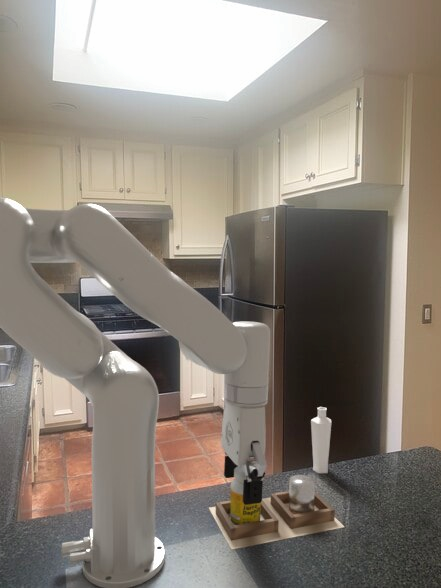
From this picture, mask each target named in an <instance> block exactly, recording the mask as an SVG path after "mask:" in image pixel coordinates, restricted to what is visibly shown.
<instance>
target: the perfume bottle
mask: <svg viewBox="0 0 441 588" xmlns="http://www.w3.org/2000/svg"><path fill="white" fill-rule="evenodd" d="M316 408H317V416H316V417H313V418H312V419H311V420H310V426H311V427H310V429H311V445H312V461H313V462H312V463H313V464H312V465H313V467H312V470H313V471H314V472H316V473H317V474H328V472H329V469H328V466H329V465H328V464H329V454H330V441H331V433H332V432H331V431H332V429H331V428H332V419H331V418H329V417H327V407H323V406H319V407H316Z"/></svg>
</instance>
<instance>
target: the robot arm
mask: <svg viewBox="0 0 441 588" xmlns="http://www.w3.org/2000/svg"><path fill="white" fill-rule="evenodd" d="M32 263H35V264H40V263H41V264H44V263H46V264H62V263H64V264H65V263H67V264H69V263H76V264H78V265H79V266H80V267H81V268H82V269H84V270H85V271H86V272H87V273H88V274H89V275H91V276H92V277H93V278H94V279H96V281H97V282H99V283H100V284H101V285H102V286H103V287H104V288H106V289H107V290H108V291H109V292H110V293H111V294H112V295H113V296H114V297H115V298H117V299H118V300H119V301H120V302H121V303H123V305H125V306H126V307H127V308H128V309H130V311H132V312H134V313H135V314H136V315H138V316H140V318H143V319H144V320H147V321H149V322H151V323H152V324H154V325H155V326H157V327H159V328H160V329H162V330H163V331H165V332H166V333H168V334H169V335H170V336H172V337H173V338H174V339H176V340H177V341H178V346H179V350H180V351H181V353H182V355H183V356H184V357H185V358H186V359H187V360H189V361H190V362H192V363H194V364H196V365H198V366H199V367H202V368H204V369H207V370H208V371H210V372H212V373H214V374H217V375H225V376H224V377H225V378H224V395H223V396H224V399H223V401H224V405H223V406H224V407H223V415H222V424H221V434H220V435H221V437H220V439H221V440H220V444H221V448H222V449H223V451H224V454H225V456H224V463H223V464H224V467H223V476H224V478H225V479H232V478H234V469H235V468H236V467H238V466H242V465H243V466H244V471H245V476H246V480H244V483H243V503H244V504H245V505H248V504H256V503H261V501H262V499H263V485H264V483H263V481H264V480H265V476H266V470H267V466H268V462H267V460H266V457H265V456H266V436H267V435H266V433H267V432H266V409H265V408H266V407H265V406H266V405H267V404H268V395H269V394H268V393H269V378H270V377H269V375H270V374H269V373H270V354H271V352H270V351H271V328H270V326H268V325H267V324H266V323H263V322H257V321H249V320H248V321H246V320H245V321H234V322H232V321H231V320H230V319H229V318H228V317H227V316H226V315H225V314H224V313H223V312H222V311H221V310H220V309H219V308H218V307H216V306H215V305H214V304H213V303H212V302H211V301H209V300H208V299H207V298H206V297H205V296H204V295H202V294H201V293H200V292H199V291H197V290H196V289H195V288H194V287H192V286H190V285H189V284H188V283H186V282H185V280H183V279H182V278H181V277H180V276H179V275H177V274H175V273H174V272H173V271H171V270H170V269H169V268H168V267H167V266H165V265H164V264H163V263H162V262H161V261H160V260H159V259H158V258H157V257H156V256H155V255H154V254H153V253H152V252H150V250H148V249H147V248H146V247H145V246H144V245H143V243H141V242H140V240H138V239H137V238H136V236H135V235H133V234H132V233H131V232H130V231H129V230H128V229H127V228H126V227H125V226H124V225H123V224H122V223H121V222H120V221H119V220H117V219H116V218H115V216H114V215H112V214H111V213H110V212H109V211H108V210H106V208H104V207H102V206H100V205H97V204H95V203H94V204H93V203H82V204H79V205H75V206H73V207H71V208H70V209H40V208H27V207H23V206H22V205H21V204H20V203H19V202H16V201H15V200H13V199H10V198H7V197H4V196H3V197H1V196H0V329H1V330H2V331H3V332H5V334H6V335H7V336H9V338H10V339H12V340H13V341H15V343H17V344H18V345H19V346H20V347H21V348H22V349H24V351H26V352H27V353H28V354H29V355H30V356H32V358H34V359H35V360H36V361H37V362H38V363H39V364H40V365H41V366H42V368H44V369H45V370H46V371H47V372H49V373H50V374H52V375H54V376H56V377H59V378H62V379H64V380H66V381H67V382H68V383H69V384H70V385H72V386H73V387H74V388H75V389H77V390H78V391H79V392H80V393H82V395H84V396H85V397H86V398H87V399H88V401H89V403H90V405H91V407H92V414H93V416H92V417H93V418H92V420H93V421H92V422H93V423H92V433H91V434H92V435H91V496H92V497H91V503H92V505H91V509H92V510H91V511H92V514H91V515H92V517H91V518H92V521H91V523H92V528H89V536H84V537H83V539H81V540H75V541H74V540H72V541H67V542H61V558H66V557H69V565H72V564H77V563H80V562H82V563H81V565H82V566H81V567H82V573H83V575H84V577H85V578H86V579H87V581H88V582H90V583H92V584H93V585H95V586H98V587H100V588H133V587H136V586H139V585H141V584H143V583H146V582H147V581H149V580H150V579H152V578H153V577H155V576H156V575H157V574H158V573H159V572H160V570H161V569H162V568H163V566H164V563H165V561H166V550H165V547H164V544H163V542H162V541H161V540H160V539H159V538H158V537H156V477H155V476H156V461H155V460H156V453H155V452H156V450H155V448H156V445H155V444H156V429H157V423H158V414H159V407H160V406H159V405H160V395H159V389H158V386H157V383H156V381H155V379H154V377H153V376H152V374H151V373H150V371H148V370H147V369H146V367H144V366H142V365H141V364H140V363H138V362H137V361H135V360H133V359H132V358H131V357H130V356H128V355H127V354H126V353H125V352H124V351H123V350H122V349H120V348H119V347H118V346H117V345H116V344H115V343H114V342H112V340H111V339H109V338H108V337H107V336H106V335H105V334H104V333H103V331H101V330H100V329H99V328H98V327H97V326H96V324H95V323H94V322H93V321H92V320H91V319H90V318H89V317H87V316H86V315H84V314H82V313H81V312H79V311H77V310H76V309H75V308H74V307H73V306H72V305H70V303H68V301H66V300H65V299H64V298H63V297H62V296H61V295H60V294H58V292H57V291H55V289H54V288H53V287H52V286H51V285H49V284H48V282H46V280H45V279H43V278H42V277H41V276H40V275H39V273H37V272H36V270H35V268H34V267H33V265H32ZM251 459H253V460H251ZM249 466H252V467H254V468H256V469H253V471H252V472H251V473H250V468H249Z"/></svg>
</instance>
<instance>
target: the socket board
mask: <svg viewBox="0 0 441 588" xmlns="http://www.w3.org/2000/svg"><path fill="white" fill-rule="evenodd" d="M314 508H315V509H314V511H311V512H305V513H300V514H294V515H293V514H292V513H291V511H290V510H289V490H286V491H279V492H278V491H277V492H273V493H270V497H264V498H262V501H261V513H260V521H256V522H250V523H245V524H239V525H234V524H233V523H232V521H231V502H230V500H224V501H217V502H215V506H212V507H211V506H210V507H208V510H209V511H210V513H211V515H212V516H213V518H214V520H215V522H216V524H217V526H218V527H219V530H220V531H221V534H222V535H223V537H224V539H225V541H226V542H227V544H228V546H229V548H230V550H232V551H233V550H236V549H237V550H239V549H242V548H246V547H247V548H249V547H252V546H257V545H262V544H268V543H272V542H278V541H282V540H287V539H292V538H297V537H302V536H307V535H312V534H313V535H314V534H318V533H323V532H327V531H332V530H338V529H343V528H345V526H344V524H342V523H341V521H339V520H338V519H337V518H336V517H335V516H336V515H335V514H336V513H335V511H336V510H335V509H334V507H333V506H331V505H330V504H329V503H328V502H327V501H326V500H325V499H324V498H323V497H321V495H320V494H318V493H317V491H315V496H314Z"/></svg>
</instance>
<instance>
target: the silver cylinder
mask: <svg viewBox="0 0 441 588" xmlns="http://www.w3.org/2000/svg"><path fill="white" fill-rule="evenodd" d="M288 485H289V486H288V488H289V489H288V491H289V510H290V511H291V513H292V514H293V515H294V514H300V513H305V512H311V511H314V509H315V508H314V496H315V492H316V491H315V490H316V489H315V487H316V482H315V479H314V478H313V477H311V476H309V475H306V474H294V475H292V476H290V477H289V484H288Z"/></svg>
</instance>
